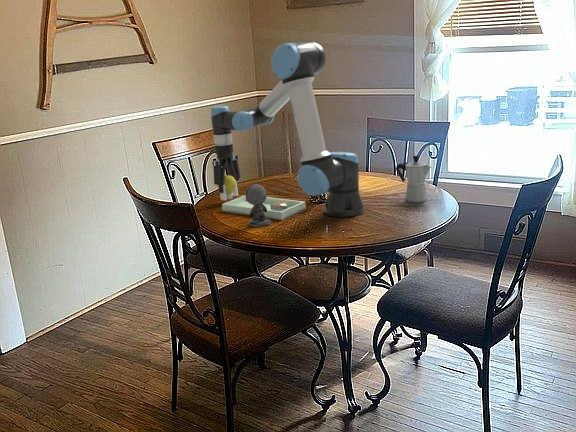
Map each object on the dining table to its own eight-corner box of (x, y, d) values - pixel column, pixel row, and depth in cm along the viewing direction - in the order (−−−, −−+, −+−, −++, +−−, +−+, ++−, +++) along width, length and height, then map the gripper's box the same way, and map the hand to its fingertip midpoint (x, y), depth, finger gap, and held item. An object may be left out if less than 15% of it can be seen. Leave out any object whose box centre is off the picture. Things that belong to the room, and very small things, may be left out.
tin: (291, 209, 230) (291, 202, 229) (281, 213, 225) (281, 207, 224) (277, 207, 234) (277, 200, 233) (267, 211, 229) (266, 205, 228)
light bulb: (235, 200, 244) (232, 176, 241) (219, 200, 245) (217, 177, 242) (239, 196, 250) (237, 173, 247) (224, 196, 251) (222, 174, 249)
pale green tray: (305, 209, 232) (305, 201, 231) (282, 220, 219) (281, 212, 219) (247, 201, 249) (246, 194, 248) (222, 211, 237) (221, 204, 236)
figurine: (257, 218, 223) (254, 180, 219) (277, 222, 217) (274, 183, 213) (241, 225, 217) (238, 185, 213) (261, 229, 211) (258, 188, 207)
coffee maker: (435, 198, 234) (435, 154, 229) (427, 204, 227) (427, 158, 222) (400, 195, 242) (400, 152, 237) (391, 200, 235) (391, 156, 230)
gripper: (232, 139, 251) (237, 191, 257) (200, 148, 236) (207, 202, 242) (245, 140, 246) (250, 192, 253) (214, 148, 231) (220, 204, 238)
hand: (229, 197), depth 247 cm, fingers closed on light bulb, 7 cm apart
